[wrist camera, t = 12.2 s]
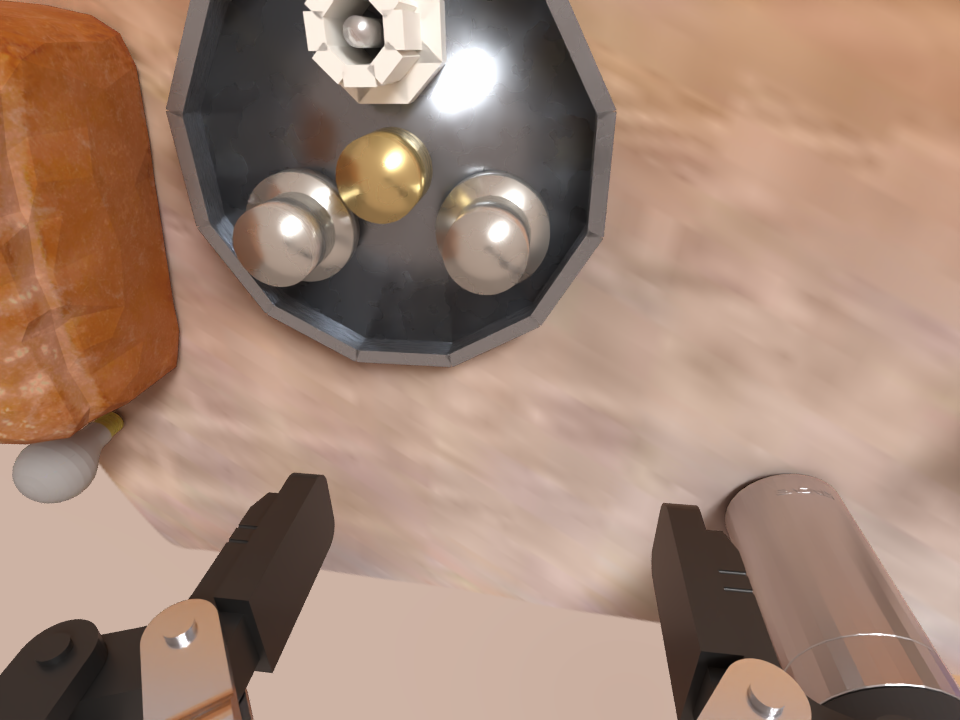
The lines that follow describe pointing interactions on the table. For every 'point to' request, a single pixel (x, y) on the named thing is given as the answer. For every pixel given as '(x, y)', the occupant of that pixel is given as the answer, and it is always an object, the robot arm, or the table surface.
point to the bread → (75, 228)
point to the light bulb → (64, 462)
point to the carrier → (397, 175)
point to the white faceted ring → (401, 62)
